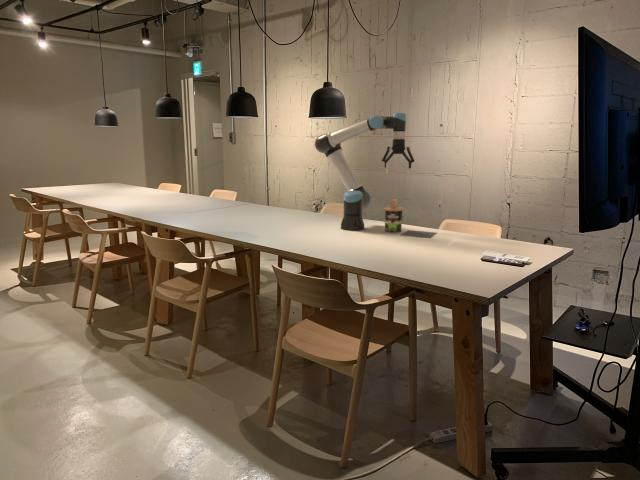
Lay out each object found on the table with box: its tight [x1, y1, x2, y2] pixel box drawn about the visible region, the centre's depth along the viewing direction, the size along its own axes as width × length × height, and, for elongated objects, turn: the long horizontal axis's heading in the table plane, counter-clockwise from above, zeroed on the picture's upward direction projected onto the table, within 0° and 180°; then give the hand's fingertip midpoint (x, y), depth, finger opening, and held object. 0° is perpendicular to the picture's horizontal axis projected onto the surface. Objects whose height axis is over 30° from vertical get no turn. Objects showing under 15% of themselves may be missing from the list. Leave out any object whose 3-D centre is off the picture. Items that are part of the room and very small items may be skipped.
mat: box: [400, 229, 437, 239], centre depth 284 cm, size 18×18×1 cm
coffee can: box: [384, 210, 403, 234], centre depth 289 cm, size 10×10×14 cm
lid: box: [382, 198, 406, 212], centre depth 287 cm, size 13×13×6 cm
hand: (397, 173), depth 297 cm, fingers open, 13 cm apart
